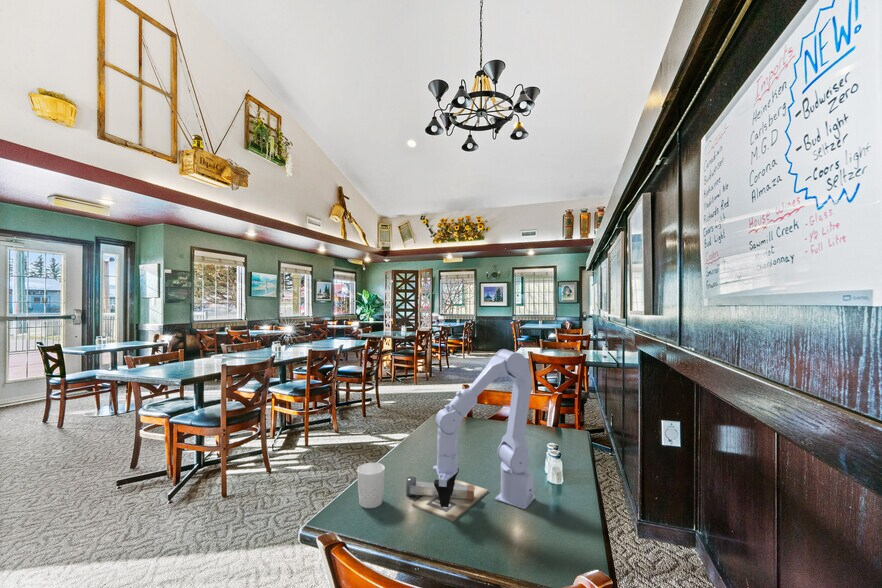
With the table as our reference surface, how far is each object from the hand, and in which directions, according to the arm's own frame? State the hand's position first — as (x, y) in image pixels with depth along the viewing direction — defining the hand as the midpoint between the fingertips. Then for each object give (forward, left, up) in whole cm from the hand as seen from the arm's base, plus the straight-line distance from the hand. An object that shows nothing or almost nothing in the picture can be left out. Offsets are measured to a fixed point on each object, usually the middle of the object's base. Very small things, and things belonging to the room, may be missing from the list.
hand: (446, 500), depth 112 cm
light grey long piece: (+5, -4, -2) cm, 7 cm away
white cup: (+20, +10, -3) cm, 22 cm away
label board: (+2, -6, -2) cm, 6 cm away
